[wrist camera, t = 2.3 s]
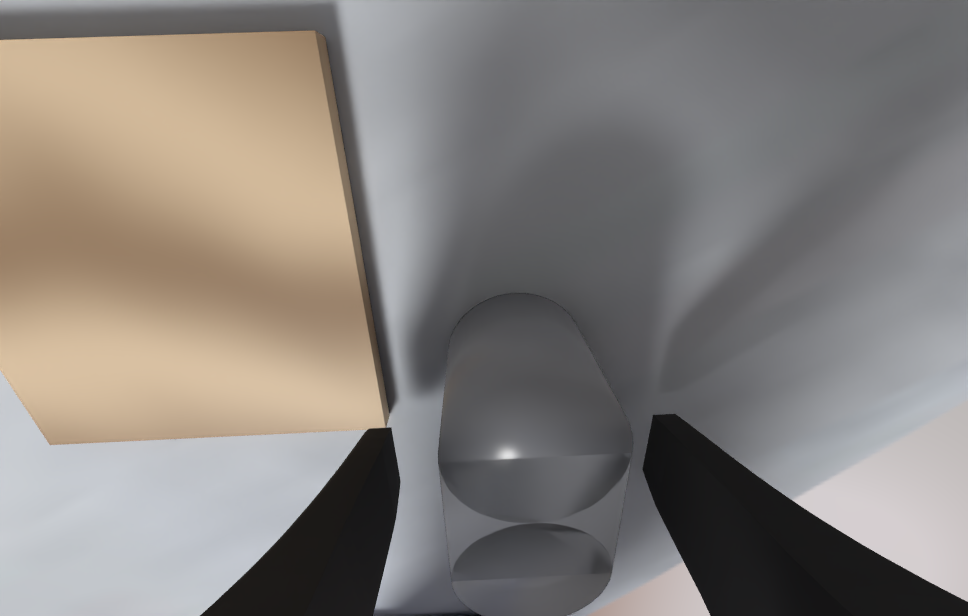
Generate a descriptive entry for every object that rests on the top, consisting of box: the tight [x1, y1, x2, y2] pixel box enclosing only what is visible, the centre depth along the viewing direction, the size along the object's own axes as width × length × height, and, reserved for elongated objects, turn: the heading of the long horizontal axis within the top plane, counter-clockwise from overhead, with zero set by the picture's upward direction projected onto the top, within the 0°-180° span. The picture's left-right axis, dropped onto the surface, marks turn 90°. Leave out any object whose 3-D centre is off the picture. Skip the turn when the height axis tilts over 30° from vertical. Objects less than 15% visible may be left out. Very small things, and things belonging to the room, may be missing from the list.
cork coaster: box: [0, 30, 389, 445], centre depth 10 cm, size 10×10×1 cm
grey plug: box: [438, 293, 633, 616], centre depth 11 cm, size 10×4×4 cm, turn 2°
